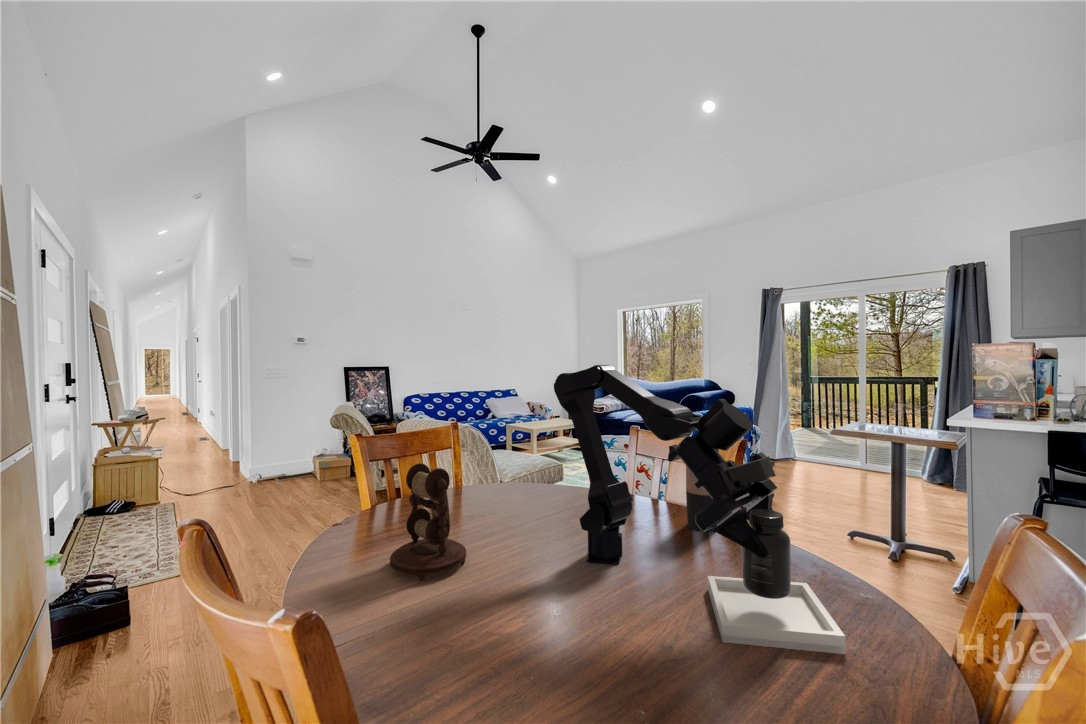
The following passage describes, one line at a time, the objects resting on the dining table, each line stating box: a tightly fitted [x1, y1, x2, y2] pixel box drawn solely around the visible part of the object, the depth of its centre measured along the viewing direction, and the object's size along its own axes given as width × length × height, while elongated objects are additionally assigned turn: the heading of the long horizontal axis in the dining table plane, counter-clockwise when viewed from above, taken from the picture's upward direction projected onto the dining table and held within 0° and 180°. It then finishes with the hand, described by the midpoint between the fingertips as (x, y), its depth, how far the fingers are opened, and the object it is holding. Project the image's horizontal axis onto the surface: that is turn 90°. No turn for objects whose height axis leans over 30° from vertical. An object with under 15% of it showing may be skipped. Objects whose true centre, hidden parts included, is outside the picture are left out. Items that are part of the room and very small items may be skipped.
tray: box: [707, 575, 846, 655], centre depth 76 cm, size 16×16×2 cm
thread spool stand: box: [389, 463, 467, 582], centre depth 97 cm, size 15×15×20 cm
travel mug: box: [685, 449, 720, 533], centre depth 117 cm, size 8×8×20 cm
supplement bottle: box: [742, 509, 792, 599], centre depth 76 cm, size 7×7×12 cm
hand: (775, 550), depth 75 cm, fingers closed on supplement bottle, 7 cm apart
